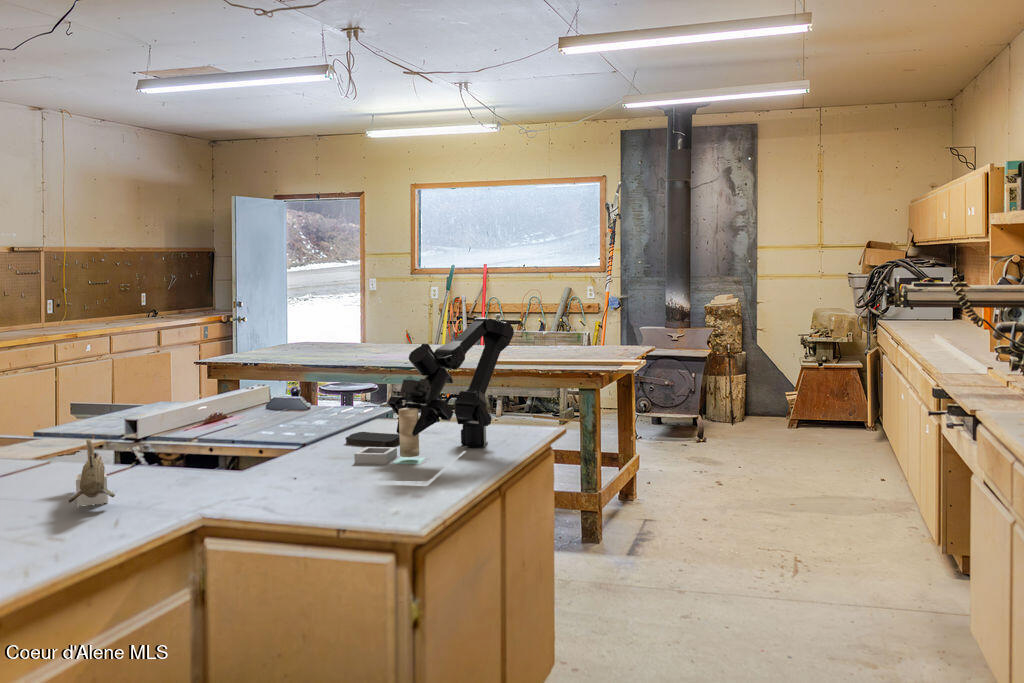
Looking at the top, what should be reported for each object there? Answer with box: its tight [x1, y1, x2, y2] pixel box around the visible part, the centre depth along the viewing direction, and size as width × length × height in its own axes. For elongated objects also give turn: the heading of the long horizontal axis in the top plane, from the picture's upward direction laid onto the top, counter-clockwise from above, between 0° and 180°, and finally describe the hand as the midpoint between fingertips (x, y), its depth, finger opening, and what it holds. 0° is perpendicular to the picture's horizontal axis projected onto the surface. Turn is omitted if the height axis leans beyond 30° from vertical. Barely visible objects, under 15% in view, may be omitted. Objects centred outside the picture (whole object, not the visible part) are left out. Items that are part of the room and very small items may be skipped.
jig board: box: [353, 446, 431, 466], centre depth 216 cm, size 18×9×4 cm, turn 79°
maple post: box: [398, 408, 420, 457], centre depth 214 cm, size 5×5×12 cm
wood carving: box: [68, 438, 116, 506], centre depth 185 cm, size 9×35×11 cm, turn 27°
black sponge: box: [345, 431, 400, 447], centre depth 239 cm, size 16×8×4 cm, turn 63°
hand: (405, 434), depth 213 cm, fingers closed on maple post, 5 cm apart
